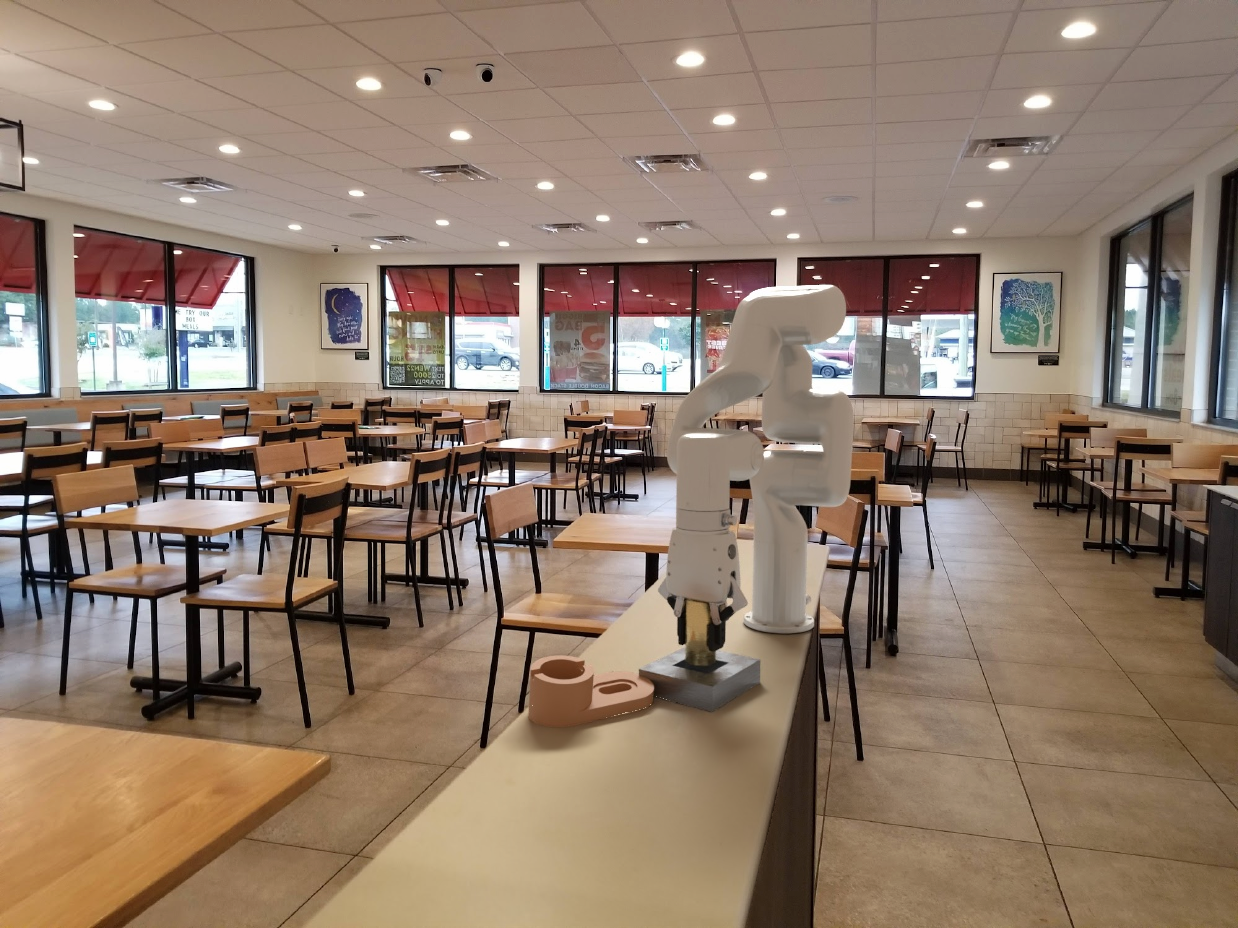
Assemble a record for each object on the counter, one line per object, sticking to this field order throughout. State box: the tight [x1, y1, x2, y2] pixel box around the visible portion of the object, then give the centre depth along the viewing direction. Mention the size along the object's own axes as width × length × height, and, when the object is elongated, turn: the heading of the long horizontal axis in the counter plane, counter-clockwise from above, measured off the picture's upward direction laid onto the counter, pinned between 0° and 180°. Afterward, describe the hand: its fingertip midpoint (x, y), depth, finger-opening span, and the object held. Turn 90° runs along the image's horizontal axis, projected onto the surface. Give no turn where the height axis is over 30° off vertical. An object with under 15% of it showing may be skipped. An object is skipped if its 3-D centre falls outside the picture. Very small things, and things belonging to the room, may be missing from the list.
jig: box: [638, 646, 761, 713], centre depth 126 cm, size 14×12×4 cm
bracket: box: [528, 654, 654, 728], centre depth 118 cm, size 18×8×7 cm, turn 120°
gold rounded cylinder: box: [684, 598, 716, 666], centre depth 125 cm, size 4×4×9 cm
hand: (700, 644), depth 126 cm, fingers closed on gold rounded cylinder, 4 cm apart
